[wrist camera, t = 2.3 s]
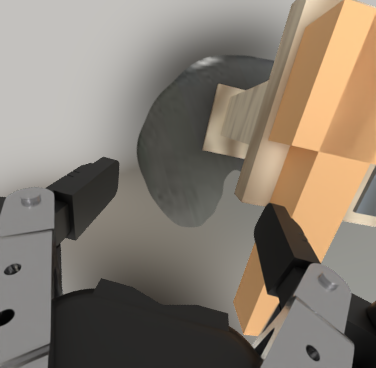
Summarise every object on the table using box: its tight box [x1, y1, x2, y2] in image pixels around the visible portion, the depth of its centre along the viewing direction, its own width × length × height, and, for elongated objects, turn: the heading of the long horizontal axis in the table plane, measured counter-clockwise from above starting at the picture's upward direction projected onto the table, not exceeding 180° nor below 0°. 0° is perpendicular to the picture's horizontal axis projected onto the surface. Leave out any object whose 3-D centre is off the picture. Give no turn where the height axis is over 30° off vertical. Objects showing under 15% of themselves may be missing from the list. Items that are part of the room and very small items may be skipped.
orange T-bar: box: [233, 0, 376, 336], centre depth 14 cm, size 7×22×3 cm, turn 168°
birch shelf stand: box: [202, 0, 376, 227], centre depth 30 cm, size 16×14×32 cm
